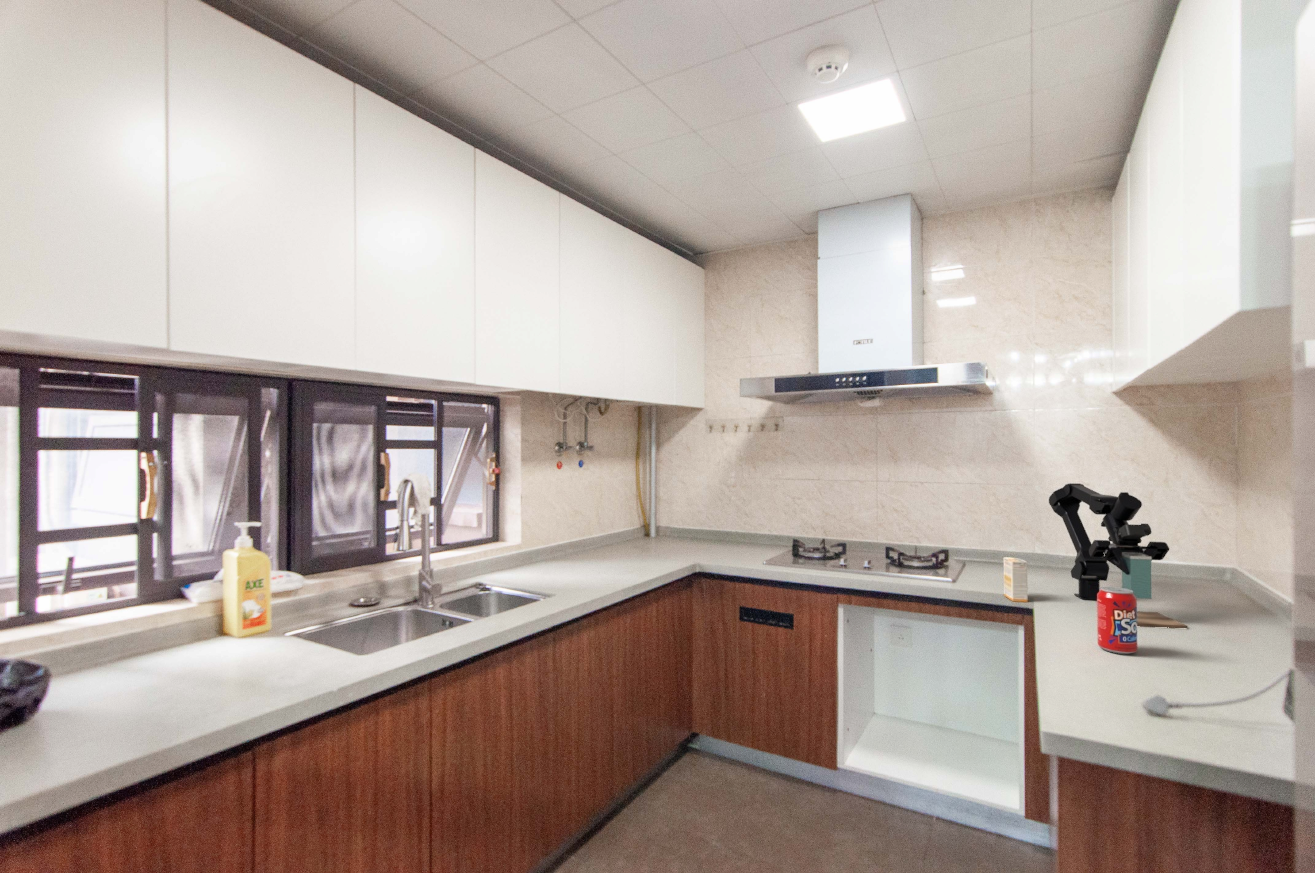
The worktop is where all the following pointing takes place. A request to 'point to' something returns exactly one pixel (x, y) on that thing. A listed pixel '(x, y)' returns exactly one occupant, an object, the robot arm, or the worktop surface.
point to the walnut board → (1157, 620)
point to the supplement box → (1015, 579)
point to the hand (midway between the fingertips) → (1138, 574)
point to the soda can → (1117, 620)
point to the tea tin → (1137, 574)
